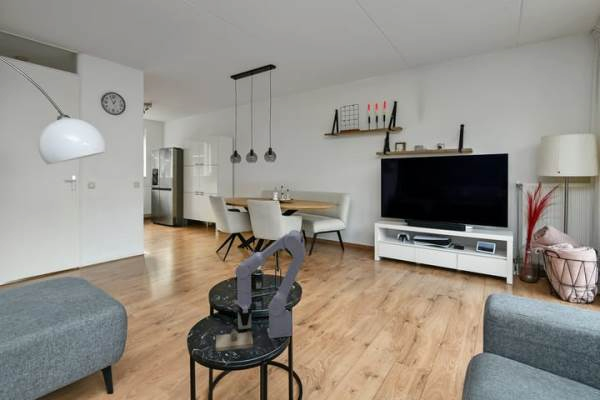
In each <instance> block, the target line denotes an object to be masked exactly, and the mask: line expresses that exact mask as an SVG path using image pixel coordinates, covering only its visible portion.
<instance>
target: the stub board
mask: <svg viewBox="0 0 600 400" xmlns="http://www.w3.org/2000/svg"><path fill="white" fill-rule="evenodd" d="M247 348H249V349H250V348H254V341H253V335H252V332H251V331H248V332H238V331H237V330H231V332H230V333H228V334H218V335H217V334H216V336H215V352H222V351H230V350H239V349H247Z"/></svg>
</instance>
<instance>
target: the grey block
mask: <svg viewBox="0 0 600 400" xmlns="http://www.w3.org/2000/svg"><path fill="white" fill-rule="evenodd" d="M237 327H238V330H244V329H252V313H251V314H250V316H249V321H248V325H246V326H242V322H241V317H240V315H239V313H238V312H237Z"/></svg>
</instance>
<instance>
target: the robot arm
mask: <svg viewBox="0 0 600 400" xmlns="http://www.w3.org/2000/svg"><path fill="white" fill-rule="evenodd" d="M286 249H287V250H288V251H289V252H290V253H291V256H292V259H291V262H290V263H289V265H288V268H287V270H286V272H285V275H284V277H283V280H282V281H281V283H280V286H279V287H278V290H277V292H276V294H274V295H273V297H272V299H271V301H270V302H269V303H268V306H267V311H268V327H267V328H266V331H267V335H268V338H269V339H277V338H287V337H291V336H293V334H292V333H293V332H292V331H293V330H292V329H293V327H292V326H293V321H292V320H293V317H292V312H291V311H290V310H287V309H286V305H287V302H288V295H289V293H290V291H291V290H292V287H293V285H294V283H295V281H296V278H297V276H298V274H299V273H300V271H301V267H302V266H303V263H304V261H305V259H306V257H307V253H306V248H305V238H304V237H303V235H302V233H301V232H300V231H299V230H294V229H293V230H290V231H289V233H286V234H283V236H281V237H279V238H278V239H276V240H275V241H274V242H272V244H271V245H269V246H268V247H266V248H265V249H264V250H263V251H261V252H259V251H256V252H253V253H251V256H250V257H248V258H247V259H244V260H243V261H242V263H241V264H239V265H237V267H236V269H235V275H236V278H237V279H236V281H237V284H236V286H237V288H236V289H237V300H235V301H234V305H237V307H238V308H239V309H237V314H238V313H239V315H240V317H241V322H242V326H246V325H248V321H249V316H250V314H251V315H252V311H253V309H252V308H250V306H251V305H252V275H251V274H252V273H253V272H255V271H257V270H258V269H259V268H260V267H262V266H263V265H264V264H265V263H266V261H267V260H266V259H267V258H268V257H270V256H271V255H273V254H275V252H276V251H279V250H286Z"/></svg>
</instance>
